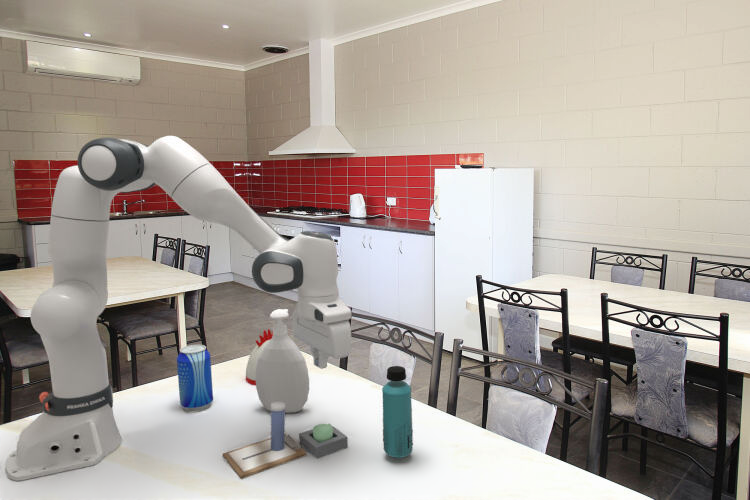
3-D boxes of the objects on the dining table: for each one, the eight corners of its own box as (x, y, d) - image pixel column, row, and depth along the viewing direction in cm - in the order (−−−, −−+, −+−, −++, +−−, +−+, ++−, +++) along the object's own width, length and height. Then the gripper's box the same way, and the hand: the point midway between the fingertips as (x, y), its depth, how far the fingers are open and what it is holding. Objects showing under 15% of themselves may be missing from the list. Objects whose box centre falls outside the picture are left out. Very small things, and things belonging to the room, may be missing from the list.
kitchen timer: (301, 376, 162) (299, 329, 159) (263, 390, 152) (261, 339, 150) (274, 366, 171) (272, 321, 169) (237, 378, 161) (234, 330, 159)
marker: (274, 452, 115) (274, 408, 114) (268, 446, 118) (268, 403, 117) (286, 448, 117) (287, 405, 116) (280, 442, 120) (281, 400, 119)
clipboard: (241, 478, 107) (240, 472, 107) (222, 456, 116) (222, 450, 116) (306, 455, 116) (306, 449, 116) (284, 435, 125) (284, 430, 125)
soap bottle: (315, 403, 142) (312, 305, 138) (305, 417, 134) (301, 313, 130) (264, 400, 145) (260, 304, 141) (252, 413, 137) (246, 311, 133)
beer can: (217, 407, 141) (213, 349, 139) (185, 415, 136) (180, 356, 134) (208, 396, 148) (204, 341, 146) (176, 404, 143) (172, 347, 141)
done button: (319, 450, 117) (319, 434, 116) (310, 442, 120) (309, 427, 120) (336, 444, 119) (336, 429, 119) (326, 436, 123) (326, 421, 122)
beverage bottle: (411, 466, 111) (410, 374, 108) (380, 463, 112) (378, 372, 109) (415, 450, 117) (414, 363, 114) (385, 447, 118) (384, 361, 116)
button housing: (316, 458, 114) (316, 447, 114) (299, 443, 121) (298, 433, 120) (347, 447, 119) (347, 436, 119) (329, 433, 125) (329, 423, 125)
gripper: (284, 299, 122) (286, 356, 124) (329, 317, 105) (331, 384, 107) (308, 295, 125) (310, 351, 127) (356, 312, 109) (357, 376, 111)
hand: (320, 366), depth 117 cm, fingers closed
